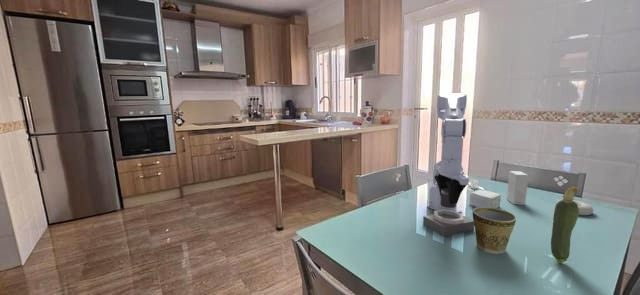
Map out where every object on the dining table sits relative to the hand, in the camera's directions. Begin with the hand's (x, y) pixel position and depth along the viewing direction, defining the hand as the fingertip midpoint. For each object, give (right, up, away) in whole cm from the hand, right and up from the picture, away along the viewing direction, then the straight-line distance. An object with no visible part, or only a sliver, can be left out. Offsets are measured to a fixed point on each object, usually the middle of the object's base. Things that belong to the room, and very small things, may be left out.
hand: (448, 200), depth 86 cm
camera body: (+1, -9, +2) cm, 9 cm away
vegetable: (+20, -12, -17) cm, 29 cm away
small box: (+23, -6, +20) cm, 31 cm away
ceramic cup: (+7, -11, -9) cm, 16 cm away
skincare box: (+38, -5, +23) cm, 44 cm away
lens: (0, -2, 0) cm, 2 cm away
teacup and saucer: (+34, -3, +42) cm, 54 cm away
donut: (+52, -7, +14) cm, 54 cm away
